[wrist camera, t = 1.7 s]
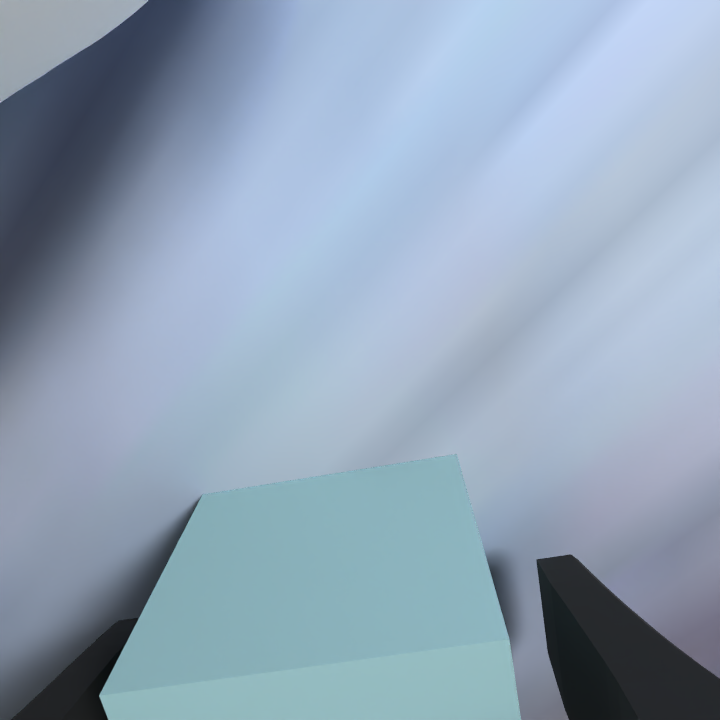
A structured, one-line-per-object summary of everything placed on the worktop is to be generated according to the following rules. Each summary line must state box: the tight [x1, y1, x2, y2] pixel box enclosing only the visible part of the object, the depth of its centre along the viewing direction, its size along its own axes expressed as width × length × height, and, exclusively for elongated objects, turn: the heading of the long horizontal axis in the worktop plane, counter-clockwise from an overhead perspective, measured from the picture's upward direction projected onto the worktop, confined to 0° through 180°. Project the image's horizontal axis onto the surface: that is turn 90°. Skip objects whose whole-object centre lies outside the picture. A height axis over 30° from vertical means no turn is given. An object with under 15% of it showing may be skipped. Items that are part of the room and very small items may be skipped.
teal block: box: [99, 454, 521, 720], centre depth 11 cm, size 5×5×5 cm
